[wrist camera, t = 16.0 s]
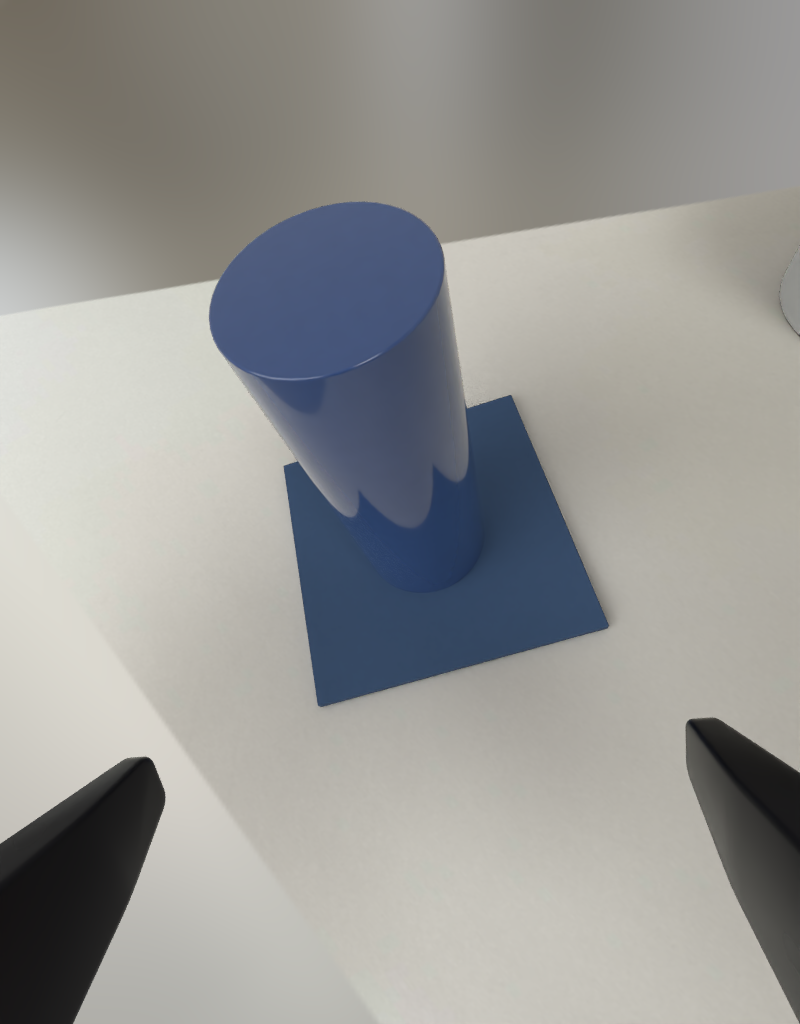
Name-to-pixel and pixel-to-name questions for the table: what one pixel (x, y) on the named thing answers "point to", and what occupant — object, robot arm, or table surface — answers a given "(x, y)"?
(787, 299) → the cup
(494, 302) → the table surface
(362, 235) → the blue upright cylinder
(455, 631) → the blue mat
